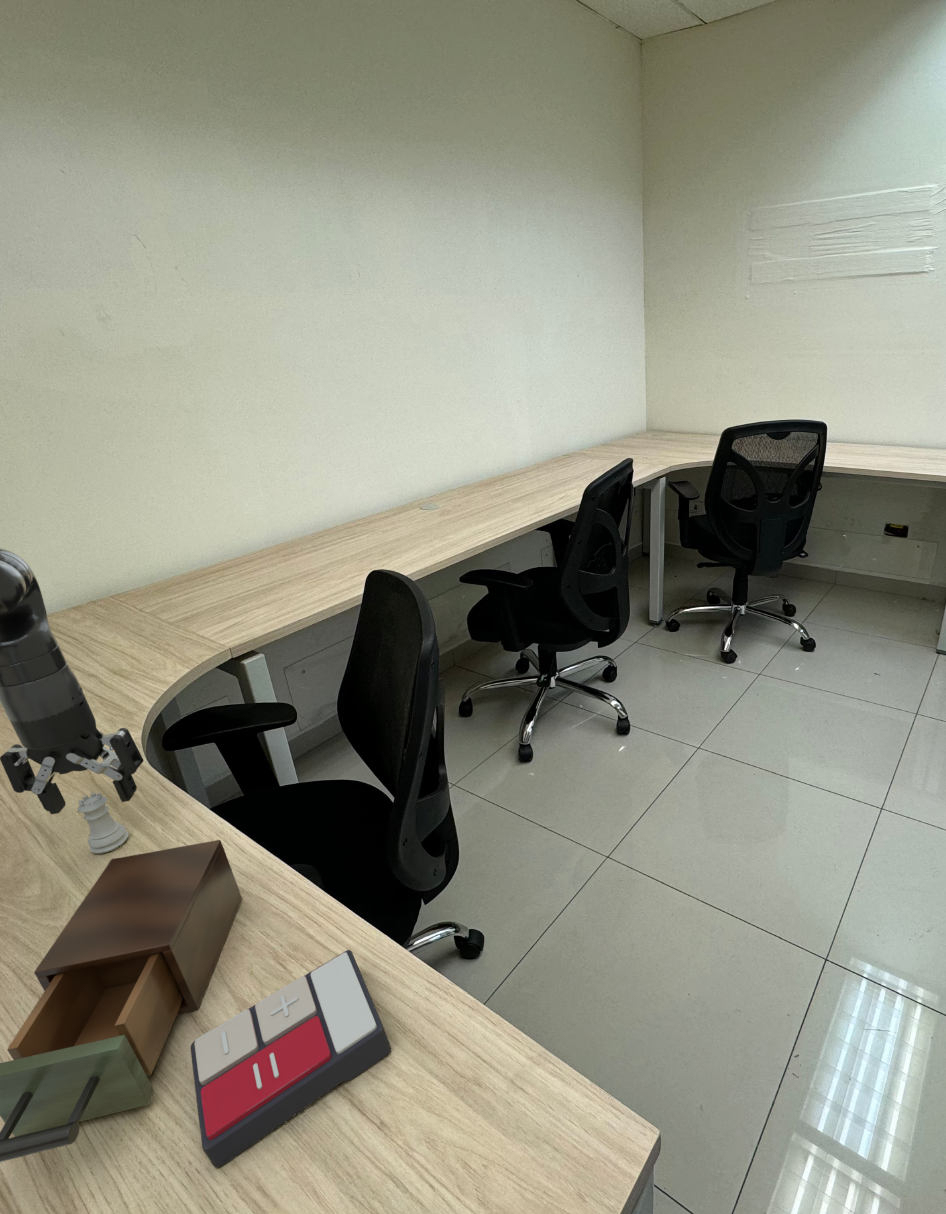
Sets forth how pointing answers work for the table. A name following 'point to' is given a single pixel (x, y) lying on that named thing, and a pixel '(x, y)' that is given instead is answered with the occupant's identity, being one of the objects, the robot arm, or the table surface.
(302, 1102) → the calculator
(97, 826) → the rook chess piece
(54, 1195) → the table surface
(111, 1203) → the table surface
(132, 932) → the cabinet
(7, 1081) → the drawer
